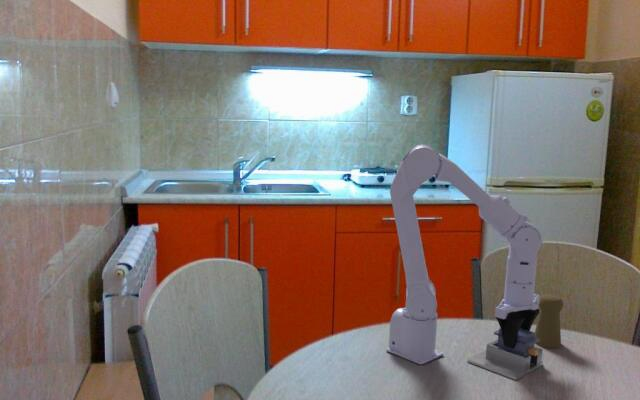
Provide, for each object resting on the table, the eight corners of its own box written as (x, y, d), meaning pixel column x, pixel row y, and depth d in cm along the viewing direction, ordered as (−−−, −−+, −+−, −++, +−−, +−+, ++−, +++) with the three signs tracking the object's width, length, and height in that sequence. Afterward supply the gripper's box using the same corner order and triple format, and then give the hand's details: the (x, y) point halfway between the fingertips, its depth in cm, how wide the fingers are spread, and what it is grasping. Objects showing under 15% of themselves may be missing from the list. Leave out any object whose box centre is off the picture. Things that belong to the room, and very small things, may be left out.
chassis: (467, 361, 127) (468, 345, 127) (495, 348, 135) (496, 333, 134) (516, 380, 119) (517, 363, 119) (542, 364, 127) (544, 348, 126)
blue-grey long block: (492, 348, 128) (494, 327, 127) (502, 343, 131) (504, 323, 130) (531, 361, 122) (533, 339, 121) (540, 356, 125) (542, 335, 124)
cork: (563, 349, 135) (568, 301, 133) (534, 346, 136) (539, 299, 135) (558, 339, 141) (563, 293, 139) (531, 336, 142) (535, 290, 140)
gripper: (520, 292, 117) (514, 359, 119) (555, 278, 127) (549, 340, 129) (487, 283, 122) (482, 348, 124) (523, 270, 132) (518, 331, 134)
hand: (514, 343), depth 127 cm, fingers closed on blue-grey long block, 4 cm apart
